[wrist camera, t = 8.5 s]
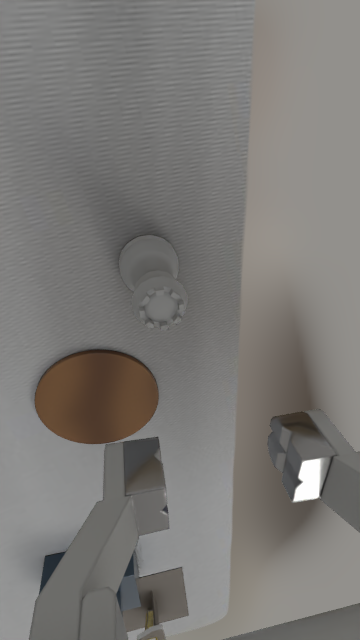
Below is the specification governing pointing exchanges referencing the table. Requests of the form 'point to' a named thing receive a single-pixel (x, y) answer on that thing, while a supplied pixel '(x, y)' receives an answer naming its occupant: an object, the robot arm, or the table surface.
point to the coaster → (96, 397)
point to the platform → (157, 604)
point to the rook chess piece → (153, 281)
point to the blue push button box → (126, 592)
